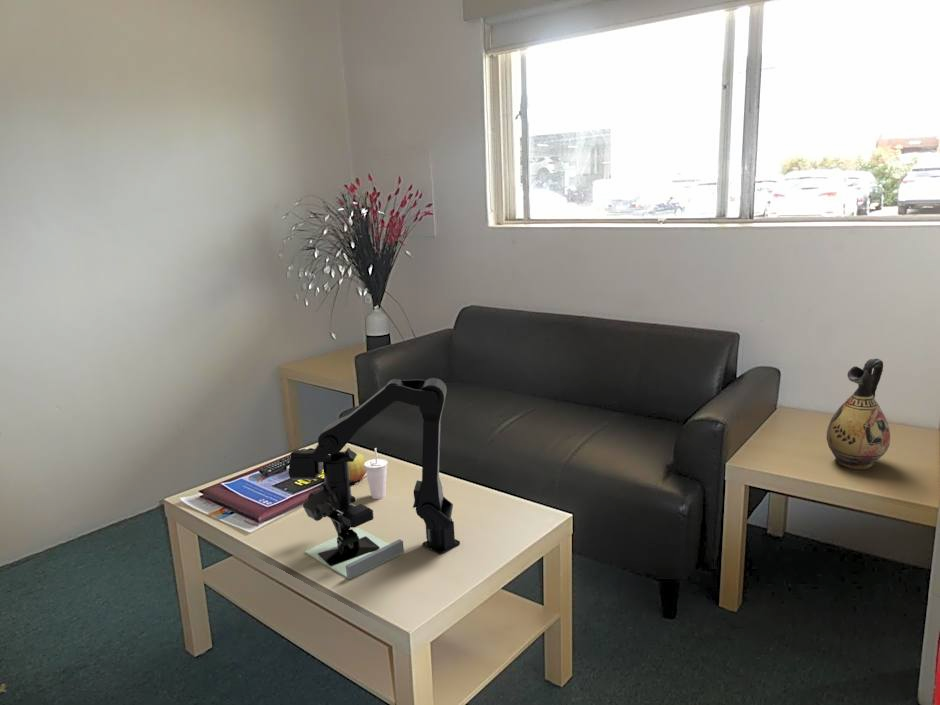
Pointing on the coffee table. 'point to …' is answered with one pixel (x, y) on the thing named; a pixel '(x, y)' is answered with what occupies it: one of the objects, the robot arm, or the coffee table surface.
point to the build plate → (348, 548)
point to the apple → (357, 468)
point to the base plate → (362, 562)
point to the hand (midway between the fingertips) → (342, 539)
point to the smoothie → (376, 476)
